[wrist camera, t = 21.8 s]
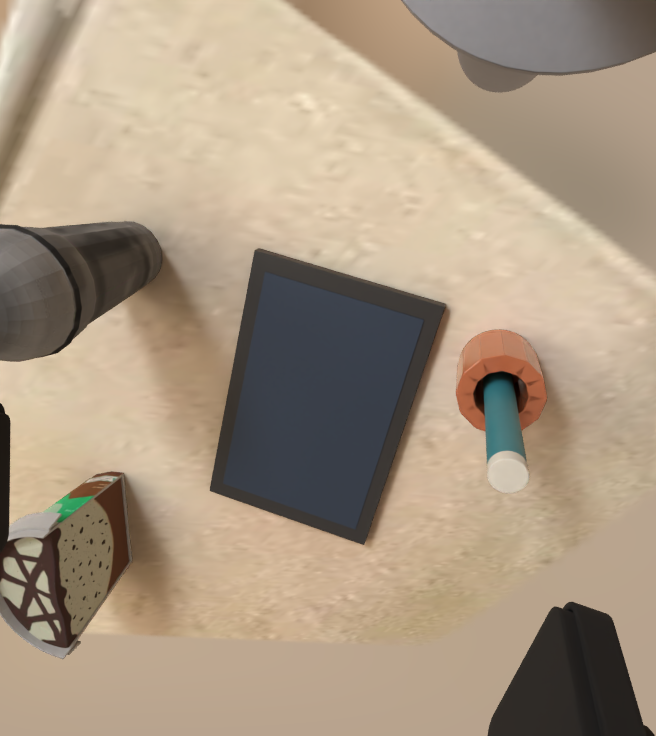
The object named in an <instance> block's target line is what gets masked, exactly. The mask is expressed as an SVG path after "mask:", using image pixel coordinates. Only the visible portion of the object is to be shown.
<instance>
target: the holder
mask: <svg viewBox="0 0 656 736" xmlns="http://www.w3.org/2000/svg"><path fill="white" fill-rule="evenodd" d="M500 371H504V372H508V373H511V374H512V378H513V384H514V390H515V396H516V401H517V407H518V413H519V419H520V425H521V431H522V430H523V429H524V428H526V427H527V426H529V425H530V424H532V423H533V422H534V421H536V420H537V419H538V418H539V416H540V414H541V412H542V410H543V408H544V405H545V403H546V401H547V394H546V389H545V383H544V378H543V375H542V371H541V368H540V365H539V361H538V358H537V354H536V352H535V351H534V349H533V348H532V346H531V345H530V344H529V342H528V341H527V340H526V339H524V338H523V337H522V336H520V335H518V334H516V333H514V332H511V331H507V330H490V331H486V332H483V333H481V334H479V335H477V336H475V337H474V338H472V339H471V340H470V341H469V342H468V343H467V344H466V346H465V347H464V348H463V350H462V352H461V355H460V358H459V362H458V365H457V382H456V397H457V401H458V405H459V410H460V412H461V414H462V415H463V416H464V417H465V418H466V419H467V420H468V421H469V422H470V423H471V424H472V425H473V426H474V427H476V428H477V429H480V430H483V431H485V410H484V389H483V377H485V376H486V375H487V374H489V373H494V372H500Z"/></svg>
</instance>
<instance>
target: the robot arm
mask: <svg viewBox="0 0 656 736" xmlns="http://www.w3.org/2000/svg"><path fill="white" fill-rule="evenodd" d="M9 493H10V418H9V416H8V415H6V414H5V411H4V407H3V406H2V404H0V553H1V551H2V550H3V549H4V547H5V545H6V543H7V540H8V537H9ZM488 736H654V734H653V733H652V731H651V730H650V729H649V728H648V727H647V726H645V725H643V722H642V718H641V715H640V711H639V708H638V705H637V701H636V698H635V694H634V691H633V687H632V684H631V681H630V677H629V674H628V670H627V667H626V663H625V660H624V657H623V653H622V650H621V647H620V643H619V640H618V636H617V633H616V629H615V626H614V623H613V620H612V618H611V617H610V616H609V615H608V614H606V613H603V612H600V611H597V610H594V609H591V608H589V607H586V606H583V605H580V604H577V603H574V602H569V603H567V604H566V605H565V606H564V608H563V609H562V608H559V607H553V608H552V609H551V610H550V612H549V614H548V615H547V617H546V619H545V621H544V623H543V624H542V626H541V628H540V630H539V632H538V634H537V636H536V637H535V639H534V641H533V643H532V645H531V647H530V648H529V650H528V652H527V654H526V656H525V658H524V659H523V661H522V663H521V665H520V667H519V669H518V670H517V672H516V674H515V676H514V678H513V680H512V682H511V684H510V685H509V687H508V689H507V691H506V693H505V694H504V696H503V698H502V700H501V702H500V704H499V705H498V707H497V709H496V711H495V713H494V715H493V717H492V719H491V722H490V725H489V730H488Z"/></svg>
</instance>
